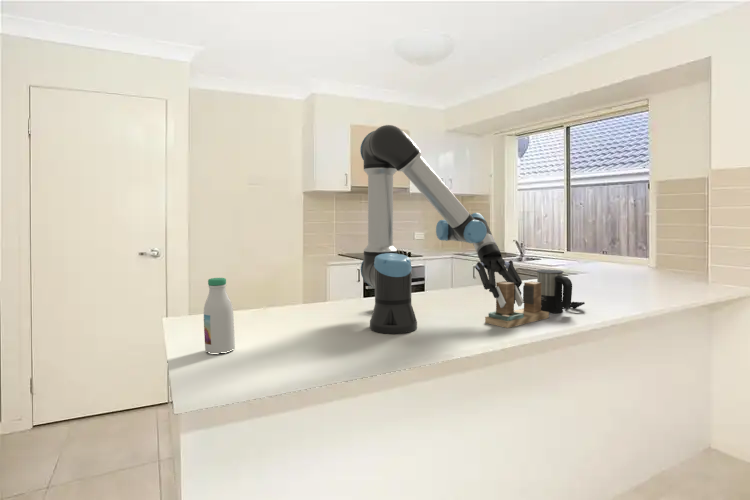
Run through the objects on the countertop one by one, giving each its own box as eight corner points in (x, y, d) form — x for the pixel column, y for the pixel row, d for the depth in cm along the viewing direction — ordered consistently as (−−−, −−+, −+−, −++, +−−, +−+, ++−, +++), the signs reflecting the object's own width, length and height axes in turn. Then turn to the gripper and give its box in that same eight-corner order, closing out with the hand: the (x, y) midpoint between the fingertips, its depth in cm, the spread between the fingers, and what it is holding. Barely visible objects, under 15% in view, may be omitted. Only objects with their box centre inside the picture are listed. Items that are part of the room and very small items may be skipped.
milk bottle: (238, 346, 129) (235, 276, 127) (230, 355, 121) (227, 280, 119) (210, 347, 128) (207, 276, 127) (201, 355, 121) (197, 281, 119)
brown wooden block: (505, 314, 147) (506, 284, 146) (496, 312, 151) (496, 282, 150) (515, 312, 150) (515, 282, 149) (505, 310, 153) (506, 281, 152)
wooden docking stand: (507, 328, 144) (507, 290, 143) (485, 322, 151) (485, 286, 150) (548, 317, 156) (549, 283, 155) (526, 313, 164) (527, 280, 163)
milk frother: (531, 310, 168) (531, 270, 167) (552, 304, 178) (552, 266, 177) (569, 317, 157) (570, 274, 156) (588, 310, 168) (590, 270, 167)
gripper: (506, 255, 166) (532, 309, 151) (459, 257, 161) (481, 313, 147) (515, 242, 160) (542, 296, 146) (466, 243, 155) (490, 300, 141)
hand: (512, 304), depth 146 cm, fingers closed on brown wooden block, 6 cm apart
